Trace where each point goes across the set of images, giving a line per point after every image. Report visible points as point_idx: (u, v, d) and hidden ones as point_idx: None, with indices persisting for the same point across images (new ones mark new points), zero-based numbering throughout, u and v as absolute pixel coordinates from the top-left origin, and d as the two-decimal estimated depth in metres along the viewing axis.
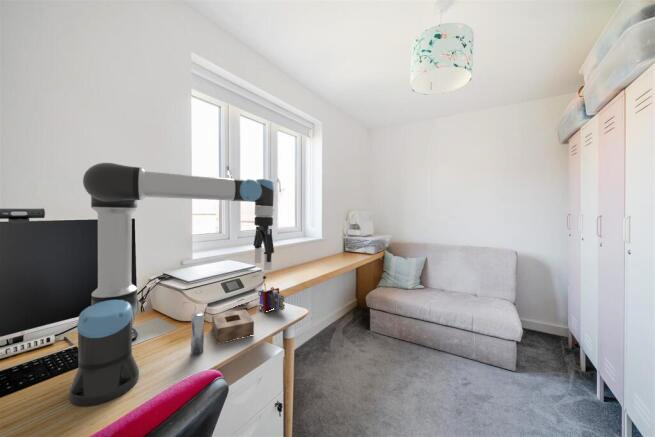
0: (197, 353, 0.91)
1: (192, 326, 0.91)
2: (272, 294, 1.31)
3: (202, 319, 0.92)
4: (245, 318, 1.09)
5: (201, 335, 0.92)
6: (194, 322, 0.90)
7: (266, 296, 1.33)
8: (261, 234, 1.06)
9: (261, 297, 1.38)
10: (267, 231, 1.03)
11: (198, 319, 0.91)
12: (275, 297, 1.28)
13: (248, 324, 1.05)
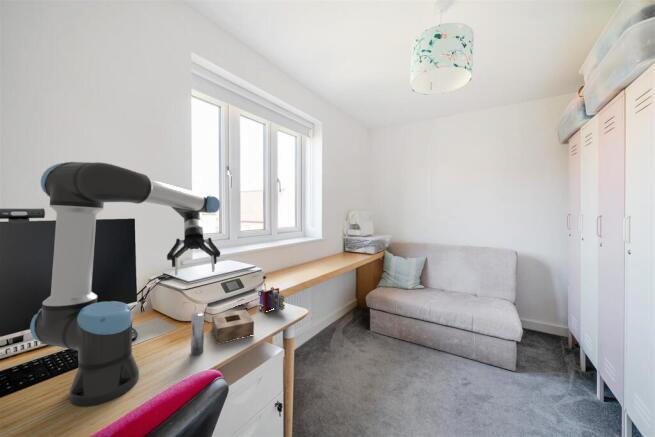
0: (197, 353, 0.91)
1: (192, 326, 0.91)
2: (272, 294, 1.31)
3: (202, 319, 0.92)
4: (245, 318, 1.09)
5: (201, 335, 0.92)
6: (194, 322, 0.90)
7: (266, 296, 1.33)
8: (201, 241, 1.14)
9: (261, 297, 1.38)
10: None
11: (198, 319, 0.91)
12: (275, 297, 1.28)
13: (248, 324, 1.05)
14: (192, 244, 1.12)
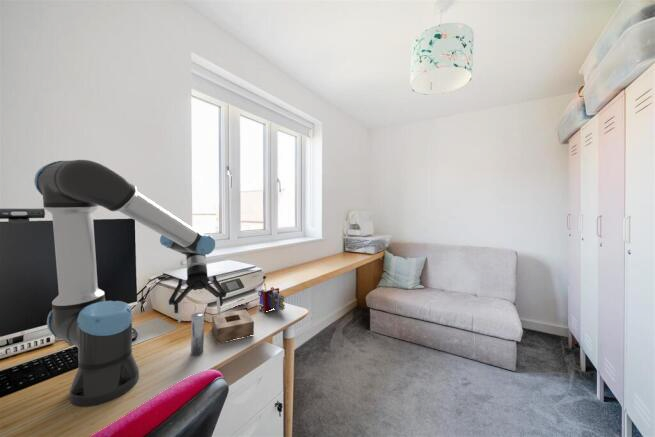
0: (197, 353, 0.91)
1: (192, 326, 0.91)
2: (272, 294, 1.31)
3: (202, 319, 0.92)
4: (245, 318, 1.09)
5: (201, 335, 0.92)
6: (194, 322, 0.90)
7: (266, 296, 1.33)
8: (205, 281, 1.05)
9: (261, 297, 1.38)
10: None
11: (198, 319, 0.91)
12: (275, 297, 1.28)
13: (248, 324, 1.05)
14: (196, 285, 1.03)
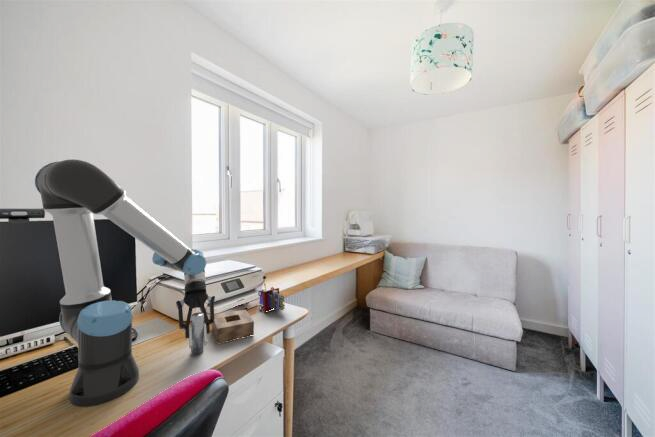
0: (197, 353, 0.91)
1: (192, 326, 0.91)
2: (272, 294, 1.31)
3: (202, 319, 0.92)
4: (245, 318, 1.09)
5: (201, 335, 0.92)
6: (194, 322, 0.90)
7: (266, 296, 1.33)
8: (202, 300, 0.98)
9: (261, 297, 1.38)
10: (214, 299, 1.02)
11: (198, 319, 0.91)
12: (275, 297, 1.28)
13: (248, 324, 1.05)
14: (194, 303, 0.97)
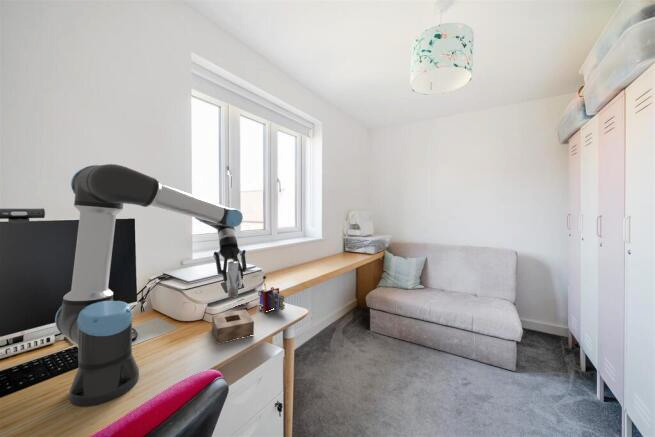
0: (233, 295, 1.06)
1: (229, 271, 1.06)
2: (272, 294, 1.31)
3: (237, 266, 1.07)
4: (245, 318, 1.09)
5: (236, 279, 1.07)
6: (231, 267, 1.05)
7: (266, 296, 1.33)
8: (235, 252, 1.13)
9: (261, 297, 1.38)
10: None
11: (234, 265, 1.06)
12: (275, 297, 1.28)
13: (248, 324, 1.05)
14: (228, 254, 1.12)
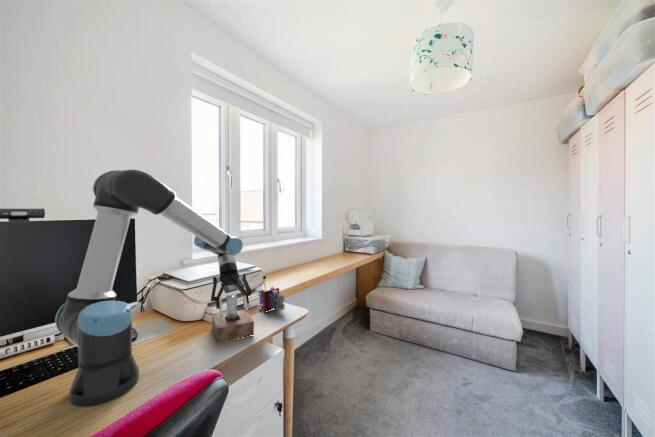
0: None
1: (227, 306, 1.06)
2: (272, 294, 1.31)
3: (235, 299, 1.07)
4: (245, 318, 1.09)
5: (235, 313, 1.07)
6: (229, 302, 1.06)
7: (266, 296, 1.33)
8: (236, 278, 1.14)
9: (261, 297, 1.38)
10: None
11: (233, 300, 1.06)
12: (275, 297, 1.28)
13: (248, 324, 1.05)
14: (228, 281, 1.13)
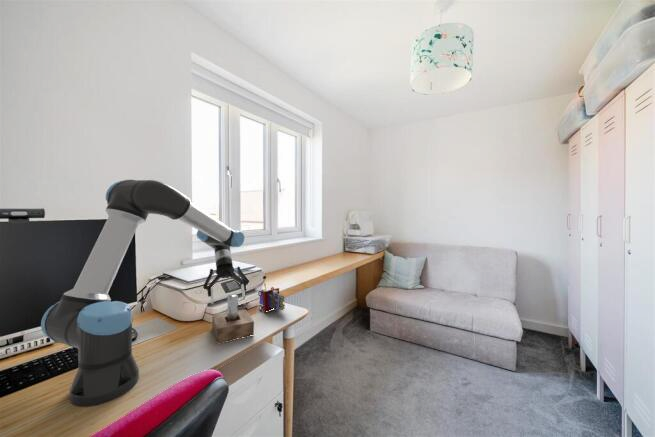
0: None
1: (228, 305, 1.07)
2: (272, 294, 1.31)
3: (236, 299, 1.08)
4: (245, 318, 1.09)
5: (236, 313, 1.08)
6: (230, 301, 1.06)
7: (266, 296, 1.33)
8: (232, 271, 1.25)
9: (261, 297, 1.38)
10: None
11: (234, 299, 1.07)
12: (275, 297, 1.28)
13: (248, 324, 1.05)
14: (224, 274, 1.23)
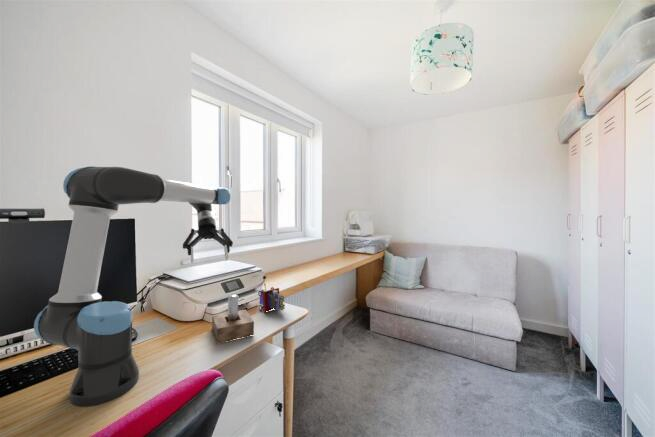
0: None
1: (229, 305, 1.07)
2: (272, 294, 1.31)
3: (237, 300, 1.08)
4: (245, 318, 1.09)
5: (236, 313, 1.08)
6: (231, 302, 1.06)
7: (266, 296, 1.33)
8: (214, 232, 1.19)
9: (261, 297, 1.38)
10: None
11: (234, 300, 1.06)
12: (275, 297, 1.28)
13: (248, 324, 1.05)
14: (206, 234, 1.17)
